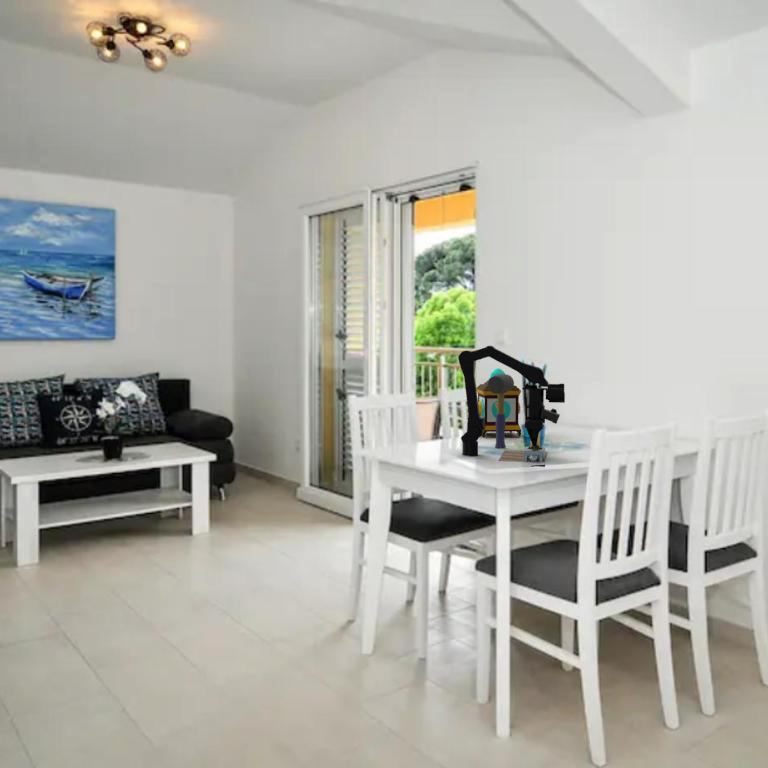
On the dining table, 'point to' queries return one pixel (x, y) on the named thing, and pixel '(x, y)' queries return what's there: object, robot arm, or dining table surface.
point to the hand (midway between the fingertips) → (534, 445)
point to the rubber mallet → (500, 404)
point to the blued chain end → (534, 454)
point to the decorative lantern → (490, 404)
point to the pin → (537, 443)
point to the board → (517, 457)
